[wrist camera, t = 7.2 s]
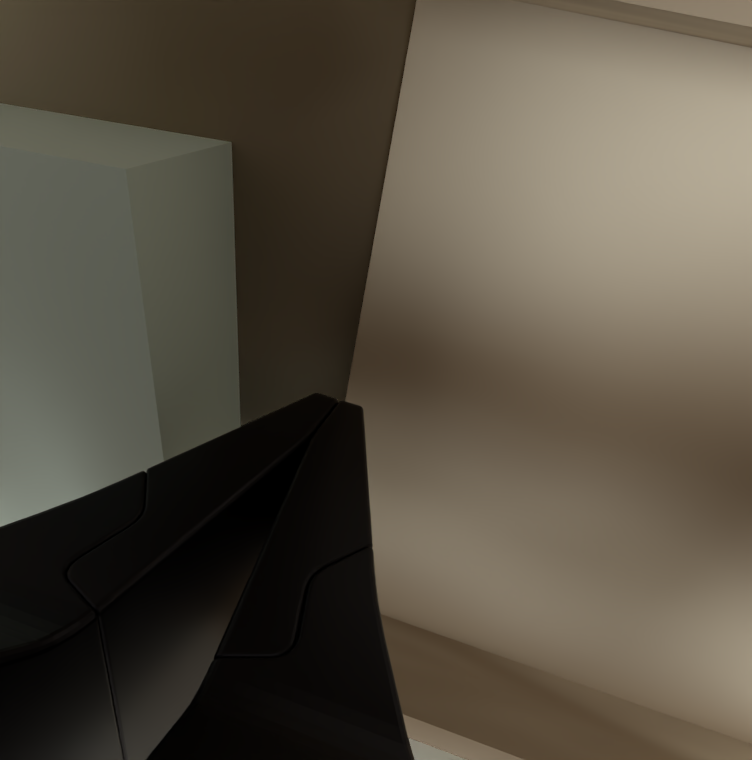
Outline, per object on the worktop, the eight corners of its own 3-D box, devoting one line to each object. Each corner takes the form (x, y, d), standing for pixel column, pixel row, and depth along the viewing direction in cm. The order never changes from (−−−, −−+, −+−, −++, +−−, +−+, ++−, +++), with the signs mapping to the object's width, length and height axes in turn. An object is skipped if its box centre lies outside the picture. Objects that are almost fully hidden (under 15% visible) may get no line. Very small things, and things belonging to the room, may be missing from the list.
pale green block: (249, 492, 13) (181, 592, 11) (5, 423, 14) (-108, 500, 12) (242, 139, 9) (125, 169, 6) (-104, 81, 10) (-318, 87, 8)
